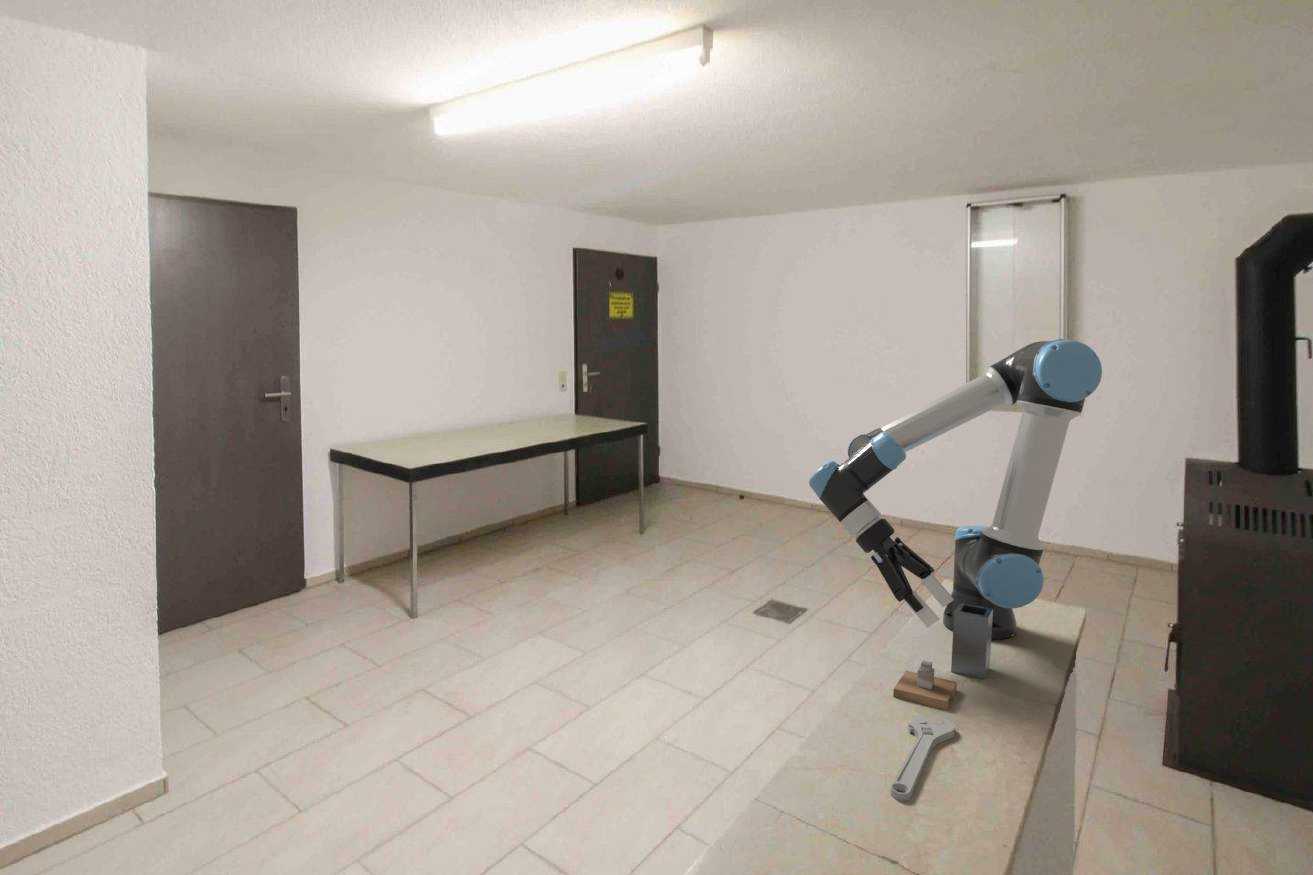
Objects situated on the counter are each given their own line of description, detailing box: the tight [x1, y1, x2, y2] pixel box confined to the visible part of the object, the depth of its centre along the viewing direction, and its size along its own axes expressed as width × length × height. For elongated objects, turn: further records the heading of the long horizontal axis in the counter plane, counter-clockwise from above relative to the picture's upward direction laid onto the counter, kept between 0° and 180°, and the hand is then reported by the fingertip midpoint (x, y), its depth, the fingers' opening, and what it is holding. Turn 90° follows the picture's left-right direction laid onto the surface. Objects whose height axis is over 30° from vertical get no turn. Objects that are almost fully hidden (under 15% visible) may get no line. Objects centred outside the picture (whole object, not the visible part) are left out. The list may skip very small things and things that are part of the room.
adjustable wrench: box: [889, 714, 955, 802], centre depth 110 cm, size 25×6×2 cm, turn 143°
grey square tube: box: [950, 603, 993, 680], centre depth 140 cm, size 6×6×12 cm
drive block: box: [892, 659, 958, 711], centre depth 130 cm, size 9×9×6 cm
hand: (941, 613), depth 142 cm, fingers open, 13 cm apart
